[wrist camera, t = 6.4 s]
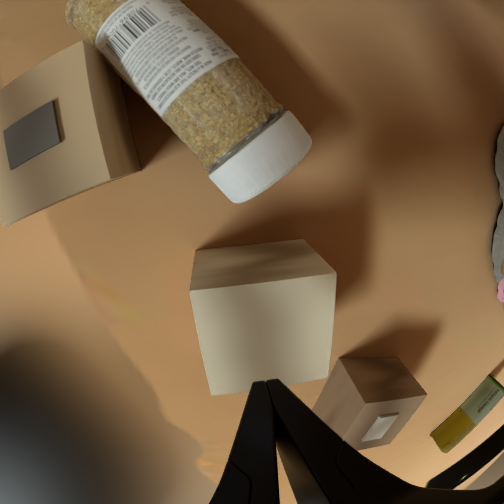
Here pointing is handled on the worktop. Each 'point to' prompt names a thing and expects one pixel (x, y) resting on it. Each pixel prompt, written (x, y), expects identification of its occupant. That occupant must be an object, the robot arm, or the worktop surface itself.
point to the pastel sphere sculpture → (499, 221)
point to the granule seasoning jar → (196, 90)
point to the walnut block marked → (368, 400)
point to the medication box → (468, 414)
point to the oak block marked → (62, 132)
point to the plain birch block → (263, 313)
